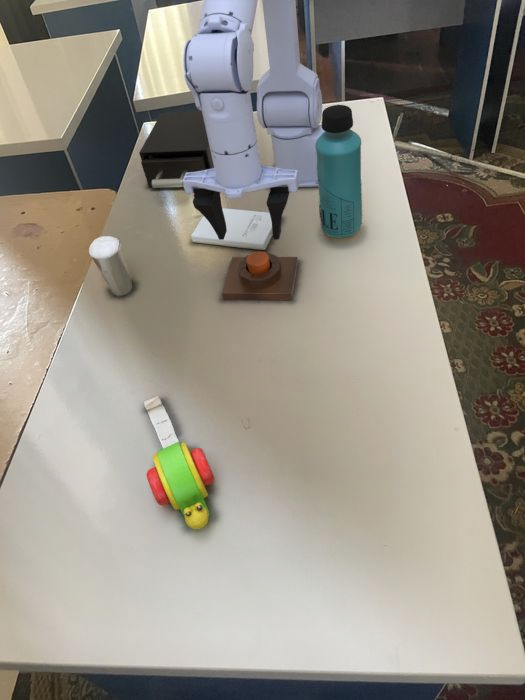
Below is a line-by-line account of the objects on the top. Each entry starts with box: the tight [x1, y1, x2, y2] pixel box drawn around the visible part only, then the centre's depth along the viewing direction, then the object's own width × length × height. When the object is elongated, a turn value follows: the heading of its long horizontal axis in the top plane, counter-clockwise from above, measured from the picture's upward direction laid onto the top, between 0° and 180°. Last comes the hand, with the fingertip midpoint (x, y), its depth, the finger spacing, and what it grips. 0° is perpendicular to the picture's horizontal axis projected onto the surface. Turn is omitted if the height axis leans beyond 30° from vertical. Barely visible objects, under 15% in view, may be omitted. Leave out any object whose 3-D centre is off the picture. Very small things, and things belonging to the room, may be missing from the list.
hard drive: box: [190, 207, 273, 251], centre depth 92 cm, size 2×8×12 cm
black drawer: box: [140, 154, 207, 189], centre depth 103 cm, size 18×11×5 cm, turn 171°
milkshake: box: [88, 235, 133, 297], centre depth 83 cm, size 4×5×10 cm
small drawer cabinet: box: [138, 110, 214, 169], centre depth 106 cm, size 14×12×7 cm
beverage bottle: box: [315, 104, 364, 239], centre depth 81 cm, size 6×7×20 cm
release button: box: [247, 250, 270, 274], centre depth 81 cm, size 3×3×2 cm
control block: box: [221, 251, 299, 301], centre depth 83 cm, size 10×8×3 cm
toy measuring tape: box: [143, 395, 215, 530], centre depth 62 cm, size 6×20×7 cm, turn 24°
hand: (249, 235), depth 78 cm, fingers open, 7 cm apart
